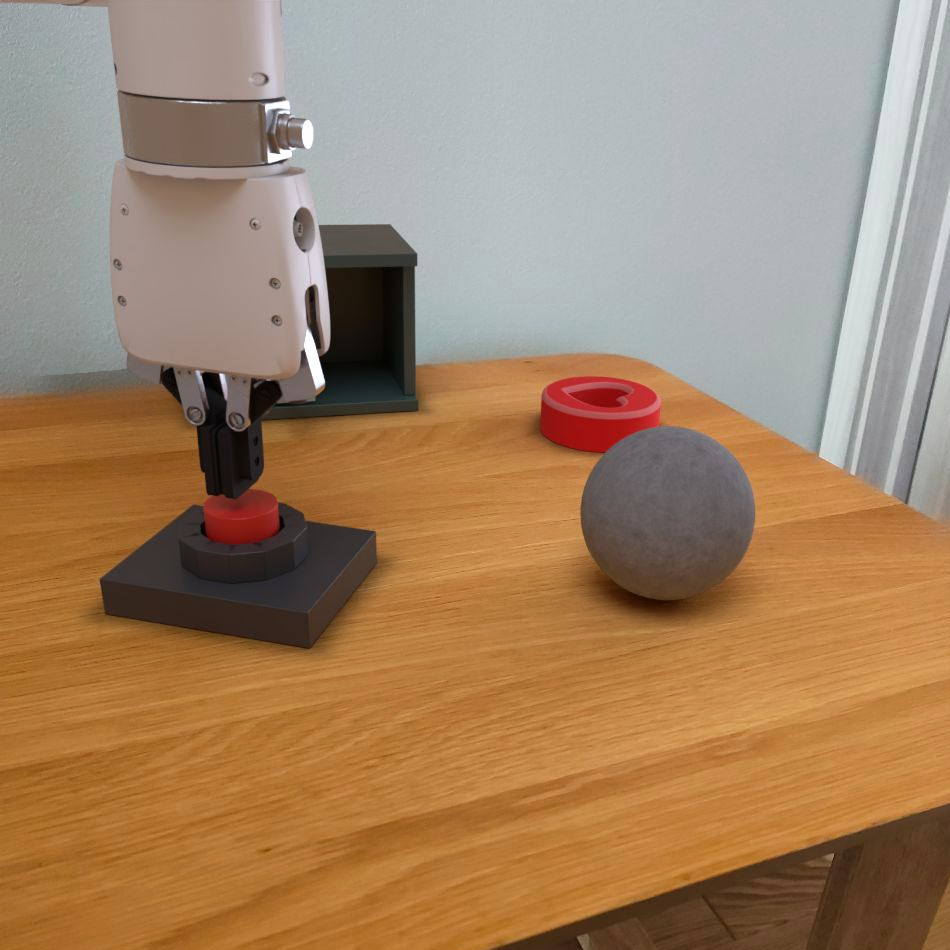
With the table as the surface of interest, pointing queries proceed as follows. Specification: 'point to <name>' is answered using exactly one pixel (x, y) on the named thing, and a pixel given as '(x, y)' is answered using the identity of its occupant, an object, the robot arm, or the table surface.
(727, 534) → the decorative ball
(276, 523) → the button
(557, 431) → the decorative ornament
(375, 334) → the cabinet
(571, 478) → the table surface
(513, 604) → the table surface
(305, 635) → the button box
